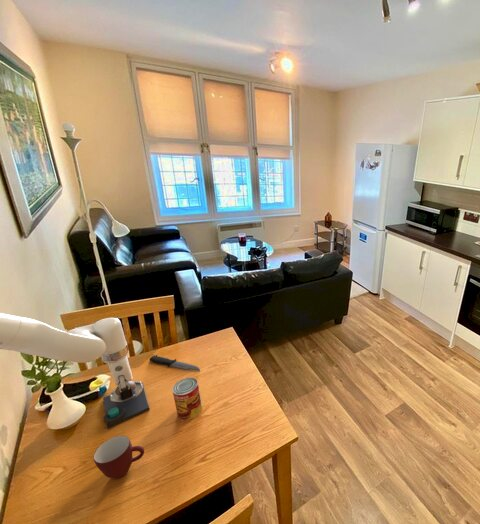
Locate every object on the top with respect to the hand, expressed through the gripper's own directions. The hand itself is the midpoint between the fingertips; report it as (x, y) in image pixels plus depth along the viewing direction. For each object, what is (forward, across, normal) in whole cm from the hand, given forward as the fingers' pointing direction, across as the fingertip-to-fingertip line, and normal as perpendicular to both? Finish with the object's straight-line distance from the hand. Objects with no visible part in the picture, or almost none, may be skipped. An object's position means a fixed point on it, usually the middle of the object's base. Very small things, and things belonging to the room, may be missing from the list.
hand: (125, 389), depth 105 cm
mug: (+5, -29, +4) cm, 30 cm away
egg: (+2, 0, 0) cm, 2 cm away
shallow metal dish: (+2, 0, 0) cm, 2 cm away
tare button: (+2, -8, +4) cm, 9 cm away
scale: (+5, -2, +1) cm, 6 cm away
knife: (+5, +9, -18) cm, 20 cm away
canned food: (+5, -19, -16) cm, 25 cm away
